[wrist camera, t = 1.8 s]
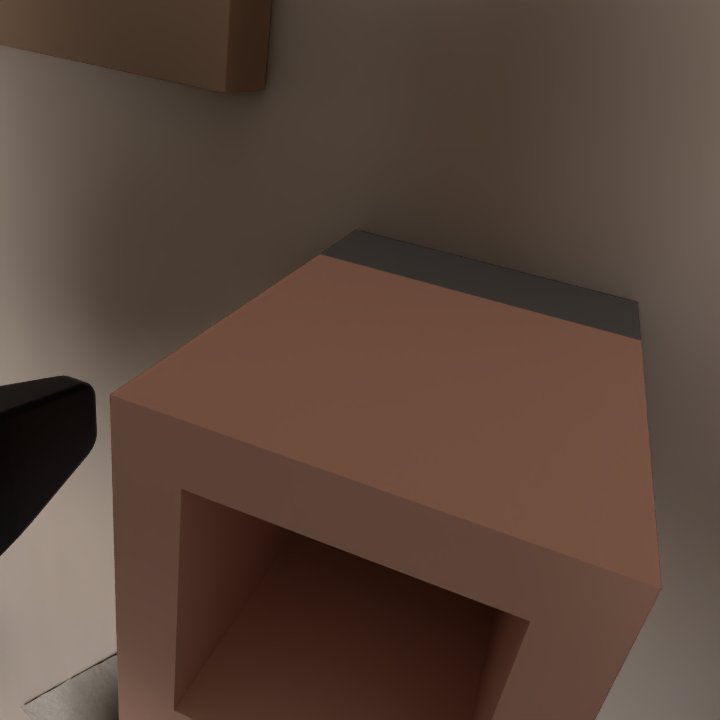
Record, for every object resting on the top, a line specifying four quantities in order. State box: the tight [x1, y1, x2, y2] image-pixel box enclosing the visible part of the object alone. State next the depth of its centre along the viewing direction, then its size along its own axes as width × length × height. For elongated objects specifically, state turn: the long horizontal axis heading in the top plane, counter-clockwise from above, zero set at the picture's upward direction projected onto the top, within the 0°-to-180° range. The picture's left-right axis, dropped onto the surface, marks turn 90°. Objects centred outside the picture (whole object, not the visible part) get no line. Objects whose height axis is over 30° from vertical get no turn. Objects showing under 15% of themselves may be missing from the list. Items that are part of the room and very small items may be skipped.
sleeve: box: [110, 230, 662, 720], centre depth 9 cm, size 4×4×6 cm
